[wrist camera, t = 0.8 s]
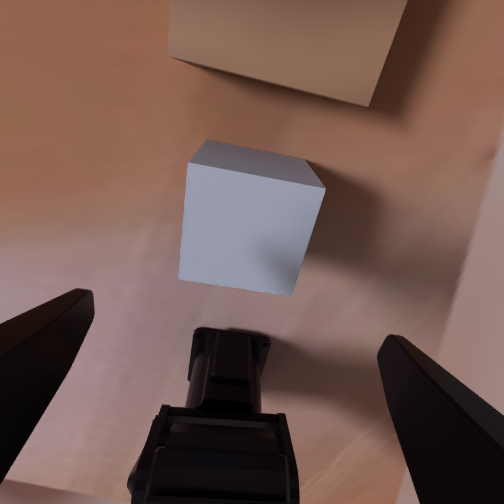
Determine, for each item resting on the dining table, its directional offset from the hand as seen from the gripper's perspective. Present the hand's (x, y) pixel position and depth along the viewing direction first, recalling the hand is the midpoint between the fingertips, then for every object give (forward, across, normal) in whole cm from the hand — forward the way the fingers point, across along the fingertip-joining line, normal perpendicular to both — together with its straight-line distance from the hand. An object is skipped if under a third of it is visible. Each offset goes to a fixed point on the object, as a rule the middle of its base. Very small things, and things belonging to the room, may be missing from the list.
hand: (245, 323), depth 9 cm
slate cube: (+12, 0, 0) cm, 12 cm away
